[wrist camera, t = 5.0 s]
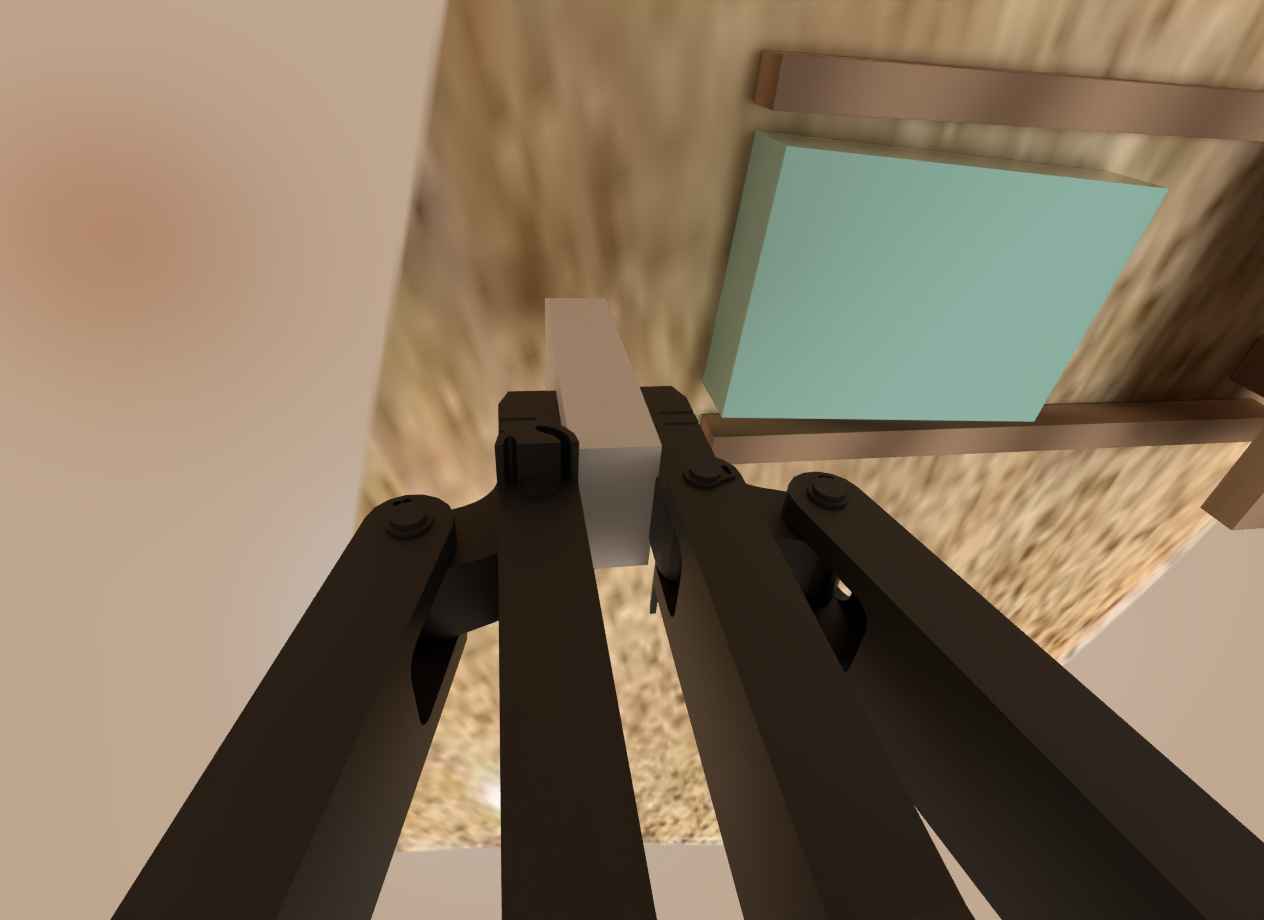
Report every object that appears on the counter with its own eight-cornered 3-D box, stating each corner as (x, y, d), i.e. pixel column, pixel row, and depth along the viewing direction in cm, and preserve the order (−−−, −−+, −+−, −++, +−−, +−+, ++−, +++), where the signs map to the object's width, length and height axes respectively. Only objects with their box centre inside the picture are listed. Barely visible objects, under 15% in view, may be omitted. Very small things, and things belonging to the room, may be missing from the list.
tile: (699, 376, 22) (721, 417, 20) (750, 127, 18) (787, 145, 16) (986, 384, 25) (1033, 421, 23) (1096, 168, 20) (1169, 188, 18)
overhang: (698, 441, 24) (756, 570, 18) (771, -8, 16) (912, -10, 10) (1234, 421, 28) (1406, 521, 23) (1504, 65, 20) (1864, 89, 15)
